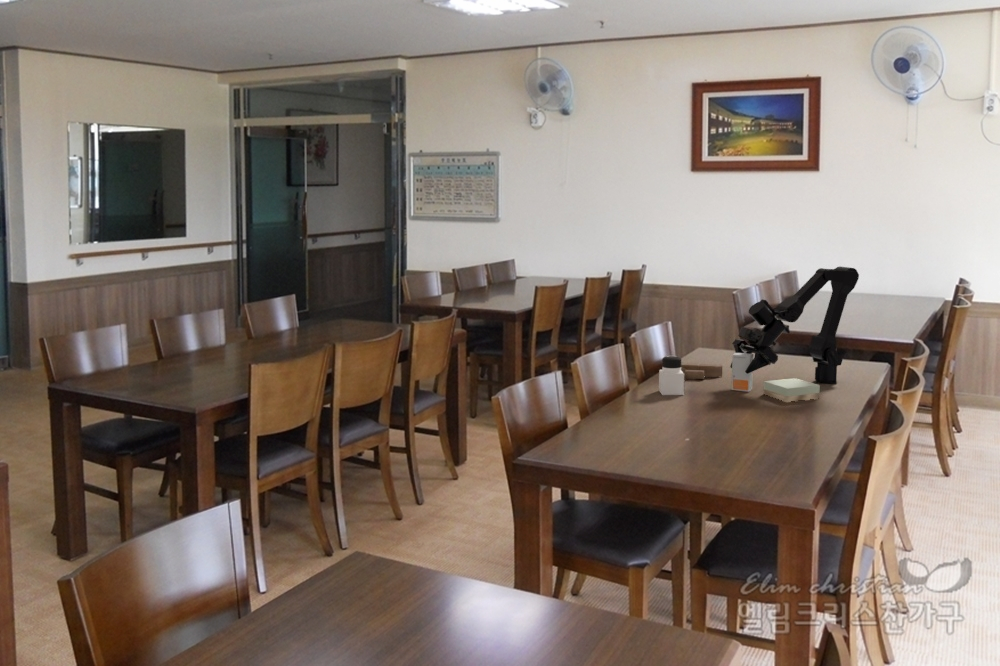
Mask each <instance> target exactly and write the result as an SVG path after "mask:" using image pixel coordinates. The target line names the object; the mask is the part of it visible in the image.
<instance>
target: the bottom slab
mask: <svg viewBox="0 0 1000 666" xmlns="http://www.w3.org/2000/svg"><path fill="white" fill-rule="evenodd" d="M764 394H765V395H764ZM763 395H764V396H766V395H768V396H767V397H769V396H770V397H769V398H772V397H773V398H772V399H775V398H776V399H775V400H778V399H779V400H778V401H781V400H782V401H781V402H784V403H792V402H791V401H795V402H799V401H798V400H805V401H811V400H810V399H814V400H819V399H820V392H819V393H815V394H806V395H797V396H788V397H787V396H784V395H781V394H778V393H775V392H772V391H769V390H765V389H764V388H763ZM818 398H819V399H818Z"/></svg>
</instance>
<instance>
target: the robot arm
mask: <svg viewBox="0 0 1000 666" xmlns="http://www.w3.org/2000/svg"><path fill="white" fill-rule="evenodd" d="M859 277H860V274H859V272H858V270H857V269H856V268H855V267H848V266H837V267H835V268H824V267H823V268H821V267H820V268H818V269H817V270H816V271H815V272H814V274H813V275H812V276H811V277H810V278H809V279H808V280H807V281H806V282H805V283H804V284H803V286H801V288H799V289H798V291H796V293H795V294H794V295H792V296H790V297H788V298H786V299H784V300H782V301H781V302H780V303H778V304H777V305H776V307H775V306H774V307H772V306H771V305H770V303H769V302H768V301H767V299H763V298H762V299H761V300H760V301H758V302H756V303H754V304H752V305H751V306H750V307H749V308H748V314H749V315H750V316H751V317H752V319H753V320H754V321H755V322H756V323H757V324H758V325H759V326H763V327H762V328H761V329H759V328H755V327H754V328H753V329H751V328H747V327H743V326H742V327H741V328H740V331H739V333H738V334H737V335H738V336H737V337H740V338H736V339H735V340H733V342H732V346H733V349H734V353H747V354H754V356H753V361H752V362H751V363H750V365H749V366H748V368H747V369H746V371H745V372H746V373H747V374H748V373H751V372H753V373H754V372H755V371H758V370H759V369H761V368H765V367H766V366H771V365H775V364H776V363H777V361H778V360H779V355H778V354H777V353H776V352H775V351H774V350H773V349H772V347H775V346H776V345H777V343H776V341H777V340H778V338H779V337H780V336H781V335H782V333H784V334H788V335H789V334H791V332H790V325H789V324H785V323H784V322H787V323H795V322H797V321H798V319H799V318H800V317H801V315H802V314H803V312H804V309H805V307H806V305H807V304H808V303H809V302H810V300H812V298H813V297H815V296H816V295H817V294H818V292H819V291H820V290H822V288H823V287H825V285H826V284H827V283H828V282H830V285H831V290H832V292H831V295H830V298H829V302H828V306H827V308H826V309H827V310H826V313H825V315H824V319H823V321H822V325H821V329H820V332H819V333H818V334H817V335H812V337H811V339H810V343H809V345H808V348H809V349H808V350H809V351H808V352H809V353H810V356H811V358H812V362H813V363H817V364H816V366H814V367H815V368H814V380H815V383H817V382H822V383H821V384H837V383H838V380H837V377H838V376H837V373H838V372H837V371H838V366H842V363H843V358H842V357H841V355H840V354H838V353H837V351H838V350H837V349H838V342H837V337H836V335H837V331H838V329H839V325H840V321H841V319H842V315H843V311H844V308H845V305H846V302H847V301H846V300H847V297H848V296H849V294H850V293H851V292H852V291H853V290H854V289H855V287H856V285H857V283H858V281H859ZM742 338H743V339H742ZM744 339H745V340H744ZM771 346H772V347H771ZM729 368H730V369H732V362H731V363H730V367H729Z"/></svg>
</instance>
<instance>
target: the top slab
mask: <svg viewBox="0 0 1000 666" xmlns="http://www.w3.org/2000/svg"><path fill="white" fill-rule="evenodd" d="M820 388H821V387H820V384H817V383H813V382H811V381H807V380H802V379H799V378H797V377H794V378H784V379H774V380H766V381H765V380H764V381H763V390H764V389H765V390H769V391H772V392H775V393H778V394H781V395H784V396H787V397H788V396H797V395H806V394H815V393H819V394H820Z"/></svg>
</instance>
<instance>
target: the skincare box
mask: <svg viewBox="0 0 1000 666" xmlns="http://www.w3.org/2000/svg"><path fill="white" fill-rule="evenodd" d="M731 357H732V361H731V363H732V368H731V381H730V382H731V383H730V384H731V385H730V390H731V391H739V392H747V393H749V392H751V391H752V390H753V375H754V374H753V373H754V371H753V372H751V373H748V374H747V373H746V372H745V371H746V369H747V368H748V366H749V365H750V363H751V362H752V361H753V359H754V353H752V354H747V353H735V352H734V353H733V354H732V356H731Z"/></svg>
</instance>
